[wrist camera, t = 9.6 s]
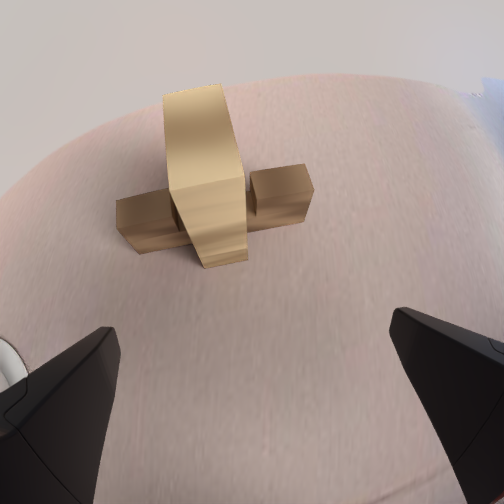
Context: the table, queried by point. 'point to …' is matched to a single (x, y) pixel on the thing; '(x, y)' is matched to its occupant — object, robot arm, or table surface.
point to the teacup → (10, 366)
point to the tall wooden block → (206, 173)
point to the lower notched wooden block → (257, 209)
